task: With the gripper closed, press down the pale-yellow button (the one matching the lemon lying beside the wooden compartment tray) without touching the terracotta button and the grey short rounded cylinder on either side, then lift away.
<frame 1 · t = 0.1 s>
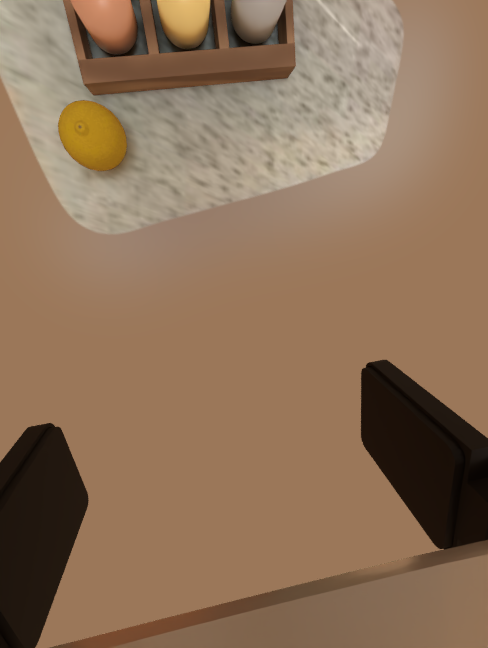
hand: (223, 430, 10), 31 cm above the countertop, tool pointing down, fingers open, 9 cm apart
grey short rounded cylinder: (258, 0, 28), point 4 cm above the countertop, slide at 0.0 cm
terracotta button: (105, 10, 26), point 4 cm above the countertop, slide at 0.0 cm
wooden compartment tray: (185, 31, 31), on the countertop
yellow button: (183, 5, 27), point 4 cm above the countertop, slide at 0.0 cm
lemon: (106, 146, 33), on the countertop
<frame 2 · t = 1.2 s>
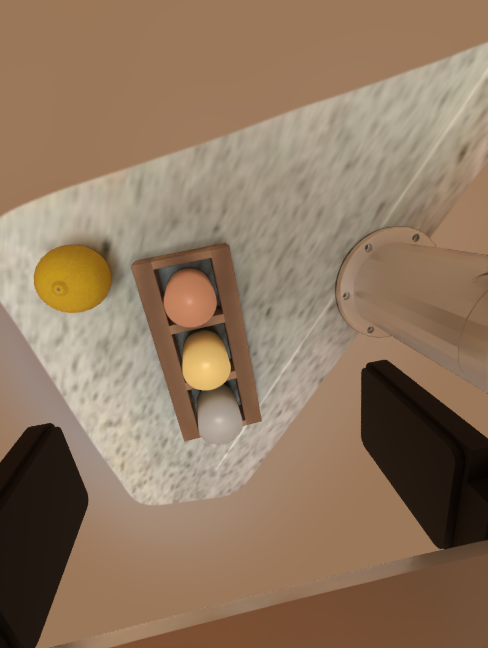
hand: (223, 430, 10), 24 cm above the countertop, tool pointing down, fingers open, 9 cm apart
grey short rounded cylinder: (218, 412, 33), point 4 cm above the countertop, slide at 0.0 cm
terracotta button: (190, 296, 29), point 4 cm above the countertop, slide at 0.0 cm
wooden compartment tray: (202, 342, 35), on the countertop
yellow button: (205, 359, 31), point 4 cm above the countertop, slide at 0.0 cm
lemon: (89, 269, 31), on the countertop
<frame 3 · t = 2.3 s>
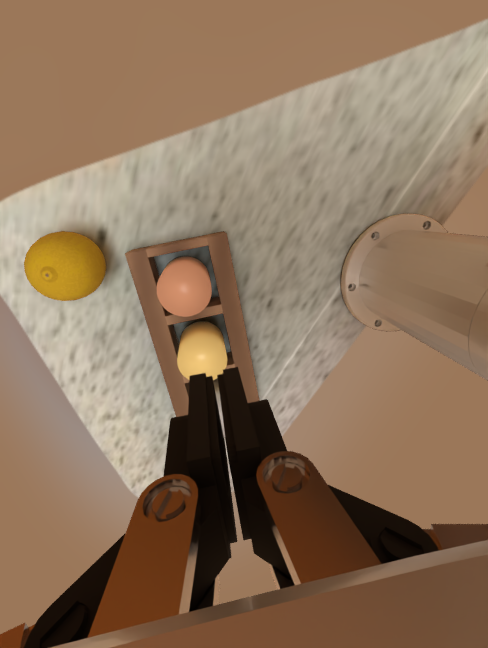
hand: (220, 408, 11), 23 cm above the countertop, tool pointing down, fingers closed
grey short rounded cylinder: (216, 407, 32), point 4 cm above the countertop, slide at 0.0 cm
terracotta button: (185, 285, 28), point 4 cm above the countertop, slide at 0.0 cm
wooden compartment tray: (201, 334, 34), on the countertop
yellow button: (202, 350, 30), point 4 cm above the countertop, slide at 0.0 cm
lemon: (85, 258, 30), on the countertop
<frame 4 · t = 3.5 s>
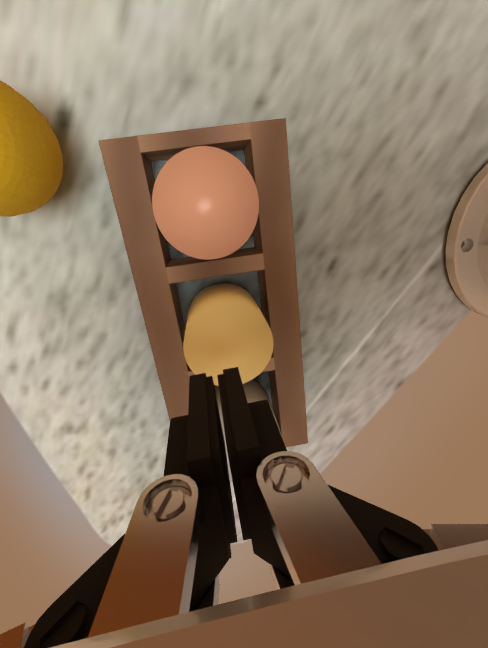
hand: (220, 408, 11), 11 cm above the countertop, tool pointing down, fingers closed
grey short rounded cylinder: (241, 426, 20), point 4 cm above the countertop, slide at 0.0 cm
terracotta button: (206, 206, 15), point 4 cm above the countertop, slide at 0.0 cm
wooden compartment tray: (222, 308, 21), on the countertop
yellow button: (226, 330, 17), point 4 cm above the countertop, slide at 0.0 cm
lemon: (34, 162, 18), on the countertop
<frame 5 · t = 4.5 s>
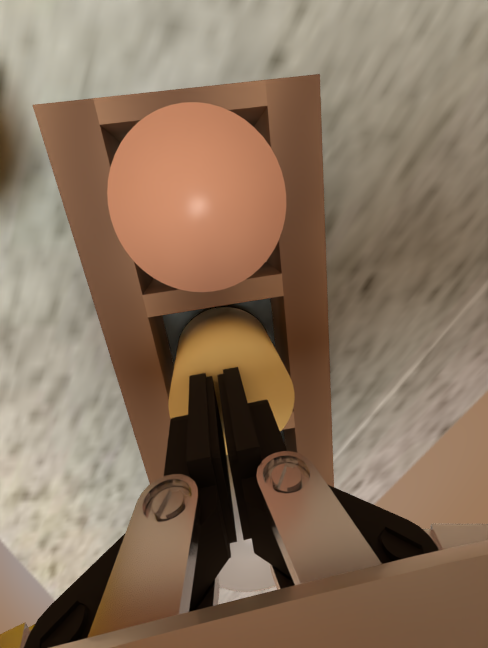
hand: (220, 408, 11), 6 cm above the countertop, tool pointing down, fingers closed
grey short rounded cylinder: (249, 505, 15), point 4 cm above the countertop, slide at 0.0 cm
terracotta button: (200, 206, 10), point 4 cm above the countertop, slide at 0.0 cm
wooden compartment tray: (222, 341, 16), on the countertop
yellow button: (228, 373, 13), point 3 cm above the countertop, slide at 0.9 cm, touching gripper
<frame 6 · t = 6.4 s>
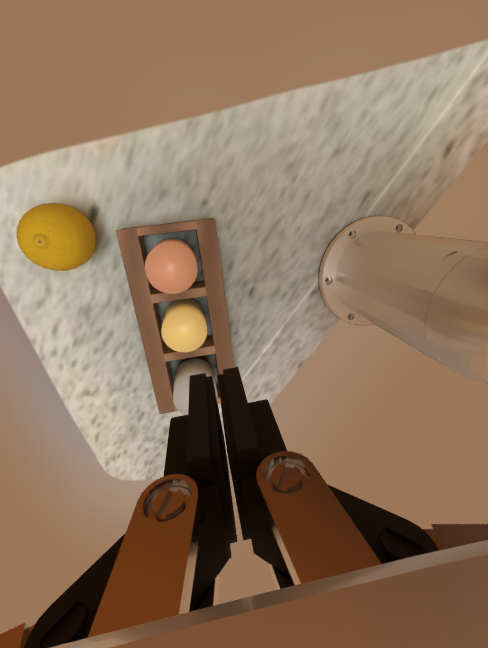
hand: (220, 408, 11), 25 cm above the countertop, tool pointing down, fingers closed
grey short rounded cylinder: (194, 386, 34), point 4 cm above the countertop, slide at 0.0 cm
terracotta button: (172, 264, 29), point 4 cm above the countertop, slide at 0.0 cm
wooden compartment tray: (184, 316, 35), on the countertop
yellow button: (184, 324, 33), point 3 cm above the countertop, slide at 1.7 cm
lemon: (75, 234, 31), on the countertop
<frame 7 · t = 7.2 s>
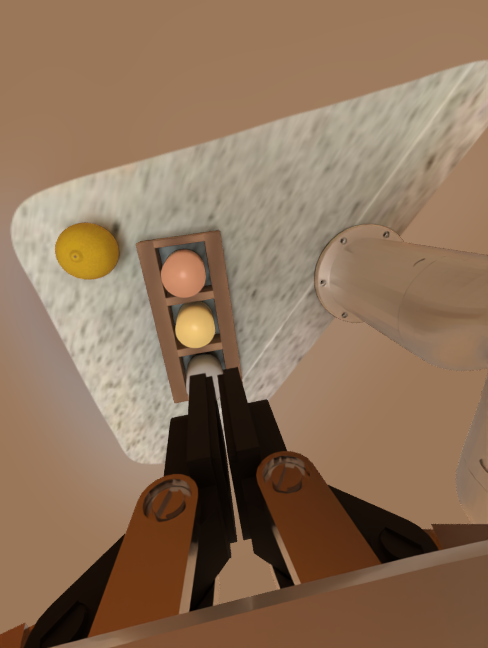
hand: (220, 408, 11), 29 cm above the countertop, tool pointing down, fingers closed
grey short rounded cylinder: (205, 378, 38), point 4 cm above the countertop, slide at 0.0 cm
terracotta button: (184, 272, 34), point 4 cm above the countertop, slide at 0.0 cm
wooden compartment tray: (195, 316, 40), on the countertop
yellow button: (195, 323, 38), point 3 cm above the countertop, slide at 1.7 cm
lemon: (100, 246, 36), on the countertop
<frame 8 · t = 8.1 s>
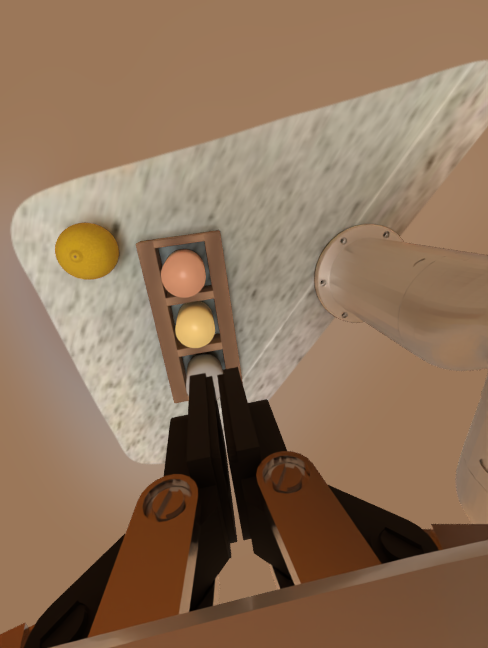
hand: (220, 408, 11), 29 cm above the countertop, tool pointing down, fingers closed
grey short rounded cylinder: (205, 378, 38), point 4 cm above the countertop, slide at 0.0 cm
terracotta button: (184, 272, 34), point 4 cm above the countertop, slide at 0.0 cm
wooden compartment tray: (195, 316, 40), on the countertop
yellow button: (195, 323, 38), point 3 cm above the countertop, slide at 1.7 cm
lemon: (100, 246, 36), on the countertop
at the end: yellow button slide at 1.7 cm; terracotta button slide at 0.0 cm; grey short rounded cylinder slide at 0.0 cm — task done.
